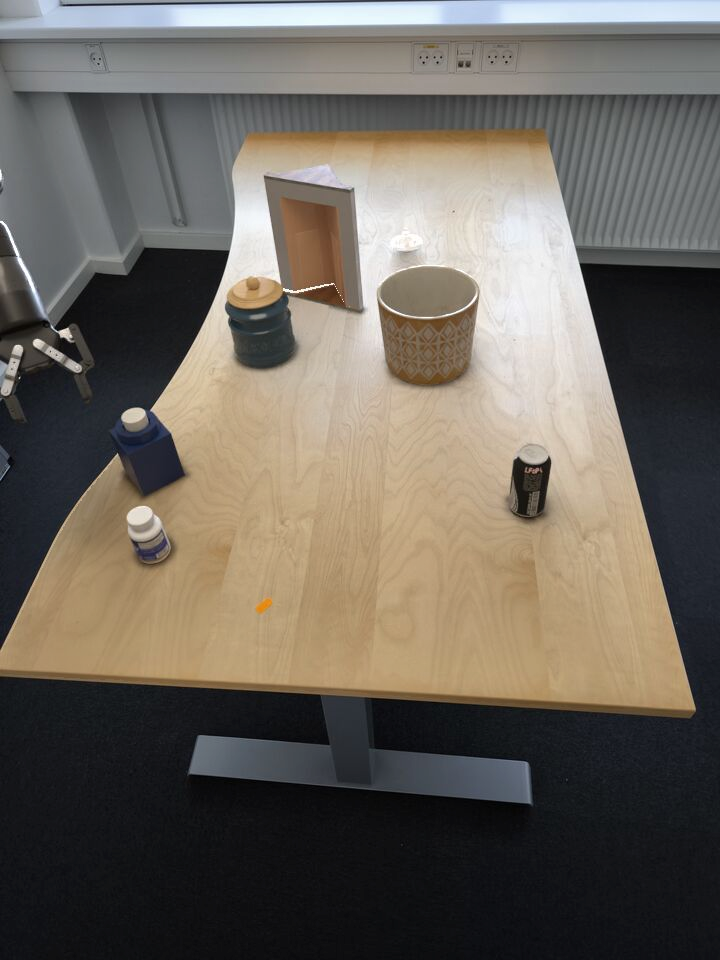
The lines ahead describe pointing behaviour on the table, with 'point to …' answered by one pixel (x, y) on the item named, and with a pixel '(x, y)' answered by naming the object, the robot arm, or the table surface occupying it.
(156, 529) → the pill bottle
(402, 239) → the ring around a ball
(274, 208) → the cabinet
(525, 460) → the beverage can
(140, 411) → the white bottle cap
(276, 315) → the canister
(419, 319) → the planter
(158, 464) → the blue push button box
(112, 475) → the table surface
